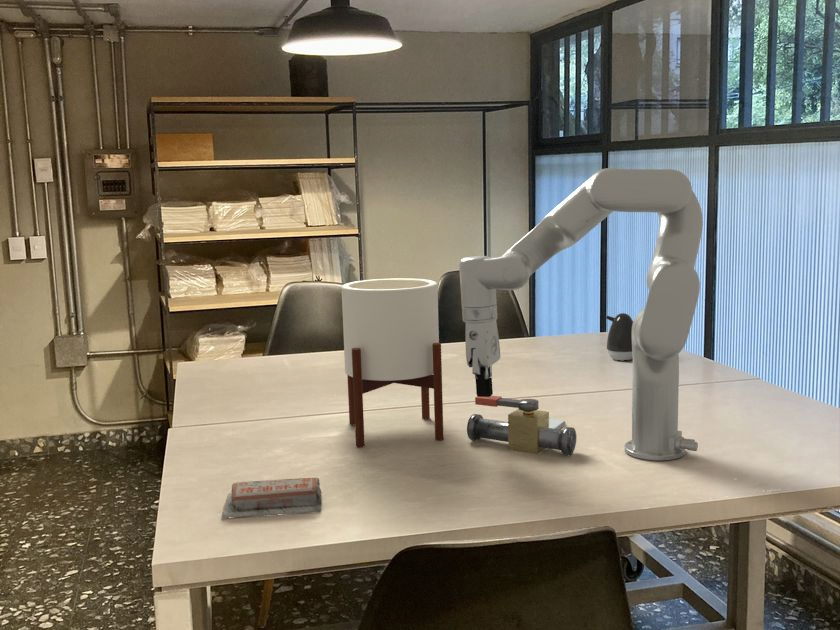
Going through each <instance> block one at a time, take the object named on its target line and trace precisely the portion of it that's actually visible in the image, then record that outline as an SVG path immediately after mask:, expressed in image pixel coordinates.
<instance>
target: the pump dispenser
mask: <svg viewBox="0 0 840 630" xmlns="http://www.w3.org/2000/svg"><path fill="white" fill-rule="evenodd" d="M605 318H606V320H608V321H610V322H611V325H610V327H609V331H608V335H607V338H606V339H607V340H606V350H607V353H608V355H609V357H610V358H612V360H613V361H617V360H621V361H620V362H625V361H624V360H629V361H631V360H632V361H633V356H632V324H633V321H634V320H633V318H632V317H631V316H630V315H629V314H628V313H624V312H621V313H618V314H617V315H616V316H615V317H613V316H610V315H607V316H606V317H605Z"/></svg>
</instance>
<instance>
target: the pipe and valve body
mask: <svg viewBox="0 0 840 630" xmlns="http://www.w3.org/2000/svg"><path fill="white" fill-rule="evenodd" d="M549 413H550V412H549V411H544V410H539V409H538V410H535V411H522V410H519V409H518V408H517V409H516V410H514V411H512V412H510V413H508V414H507V421H503V420H494V419H488V418H483V415H481V414H480V413H479V414H478V413H473V414H472V415H470V416H469V419H468V421H467V427H466V434H467V438H468V439H469V440H471V441H476V442H477V441H479V440H480V439H484V440H485V439H487V440H492V441H499V442H505V443H508V451H516V452H520V453H521V452H522V453H526V454H534V455H539V454H540V453H542V452H544V451H545V450H546V449H551V450H558V451H561V454H562V455H563V456H572V455H573V453H574V452H575V449H576V447H577V446H576V445H577V431H576V428H574V427H572V426H564V428H563V429H561V428H560V429H553V428H549V419H550V414H549Z"/></svg>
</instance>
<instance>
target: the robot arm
mask: <svg viewBox="0 0 840 630" xmlns="http://www.w3.org/2000/svg"><path fill="white" fill-rule="evenodd" d="M613 212H619V213H657V215H658V219H659V227H658V228H659V229H658V234H657V239H656V244H655V247H654V251H653V255H652V259H651V263H650V265H649V269H648V271H647V275H646V286H647V287H646V288H647V289H648V294H647V297H646V302H645V306H644V307H645V308H643V309H642V310H640V311H639V312H638V313H637V314H636V315H635V317H634V318H633V319H634V320H633V324H632V356H633V359H632V382H631V383H632V385H631V386H632V395H631V397H632V401H631V404H632V408H631V418H632V419H631V440H629V441H627V442H626V443H624V452H625V453H626V454H627V455H629V456H631V457H634V458H637V459H639V460H646V461H647V460H648V461H671V460H676V459H679V458H681V457H683V456H685V454H686V450H687V451H691V452H697V451H698V447H699V444H698V442H697V441H696V440H695V439H694V438H693V439H692V438H684V436H682V435H683V431H682V430H679V391H680V389H679V386H680V385H679V384H680V357H679V354H680V353H681V352H682V351H683V349H684V347H685V346H686V343H687V340H688V337H689V334H690V330H691V326H692V323H693V320H694V317H695V316H694V315H695V313H696V312H695V311H696V308H697V304H698V301H699V300H698V299H699V298H700V297H699V295H700V290H701V284H700V283H701V282H700V276H699V274H698V272H697V271H696V269H695V266H696V261H697V257H698V253H699V248H700V244H701V239H702V235H703V226H704V221H703V219H704V218H703V211H702V208H701V204H700V201H699V200H698V198H697V196H696V194H695V192H694V191H693V187H692V183H691V181H690V179H689V178H688V176H687V175H686V174H685V173H684V172H682V171H680V170H677V169H672V168H669V169H668V168H665V169H664V168H663V169H662V168H661V169H658V168H657V169H656V168H655V169H651V168H650V169H649V168H647V169H646V168H645V169H644V168H643V169H638V168H637V169H636V168H635V169H633V168H618V167H617V168H615V167H614V168H613V167H608V168H602V169H599V170H598V171H596V172H595V173H593V174H592V175H591V176H590V177H589V178H587V180H585V181H584V182H583V183H582V184H581V185H580V186H579V187H578V188H576V189H575V190H574V191H573V192H571V193H570V194H569V195H568V196H567V197H565V198H564V200H563V201H560V203H559V204H558V205H557V206H555V207H554V208H553V209H552V210H551V211H550V212H548V213H547V214H546V215H545V216H544V217H543V218H542V220H541V221H540V222H539V223H538V224H536V226H534V228H533V229H531V230H530V231H529V232H528V233H527V234H525V235H524V236H523V237H522V238H520V240H518V241H517V242H516V243H515V244H514V245H513V246H511V247H510V248H509V249H508V250H507V251H506V252H504V253H503V254H502V255H501V256H499V257H491V256H488V255H475V256H474V255H473V256H467V257H463V258H462V259H460V261H459V264H458V266H459V283H460V286H459V287H460V298H461V299H460V300H461V313H462V314H461V315H462V322H463V323H465V333H464V335H465V359H466V365H467V366H468V367H469V368H471V369H472V372H471V373H472V375H474V379H475V389H476V392H475V393H476V397H477V396H478V397H490V396H493V394H494V393H493V378H492V377H493V365H495V364H496V363H497V362H499V361H500V359H501V348H500V347H501V345H500V338H499V337H500V336H499V329H498V323H497V320H498V305H497V290H501V291H503V290H505V291H516V290H519V289H522V288H524V286H526V284H527V283H528V282H529V279H530V277H531V276H532V275H533V274H534V273H535V272H536V271H537V270H539V269H540V268H541V267H542V266H543V265H544V264H545V263H546V262H548V261H549V260H550V259H552V258H553V257H554V256H555V255H557V254H559V253H560V252H562V251H563V250H564V251H565V250H566V249H569V248H571V247H572V246H574V245H575V244H577V243H578V242H579V241H581V239H583V238H584V237H585V236H586V235H588V233H590V232H591V231H592V230H593V229H594V228H596V226H598V225H600V223H601V222H602V221H604V220H605V219H606V218H607V217H608V216H610V214H612V213H613Z"/></svg>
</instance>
